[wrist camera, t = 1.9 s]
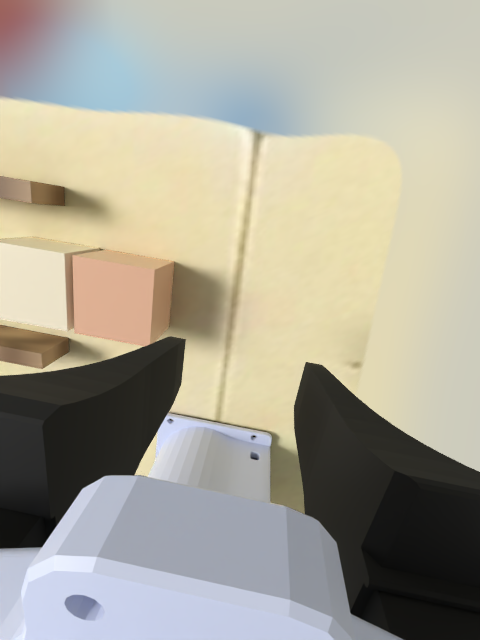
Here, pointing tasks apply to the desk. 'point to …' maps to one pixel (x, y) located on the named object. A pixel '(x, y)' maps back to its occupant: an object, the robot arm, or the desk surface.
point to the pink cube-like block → (122, 296)
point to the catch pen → (19, 342)
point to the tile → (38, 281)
